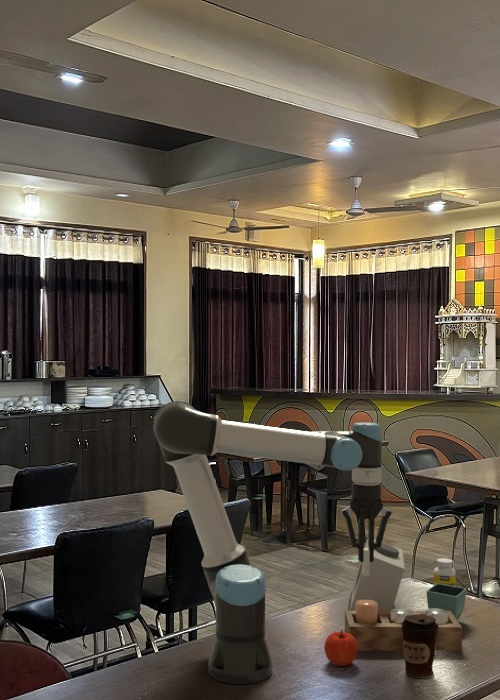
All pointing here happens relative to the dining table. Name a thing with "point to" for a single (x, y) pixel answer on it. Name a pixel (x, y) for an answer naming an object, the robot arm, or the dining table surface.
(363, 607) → the plug terracotta
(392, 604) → the alarm clock
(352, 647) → the apple
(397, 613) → the plug mid
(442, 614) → the plug far
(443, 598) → the flower pot
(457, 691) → the dining table surface
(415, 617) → the coffee cup
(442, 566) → the pill bottle
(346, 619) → the divided box
